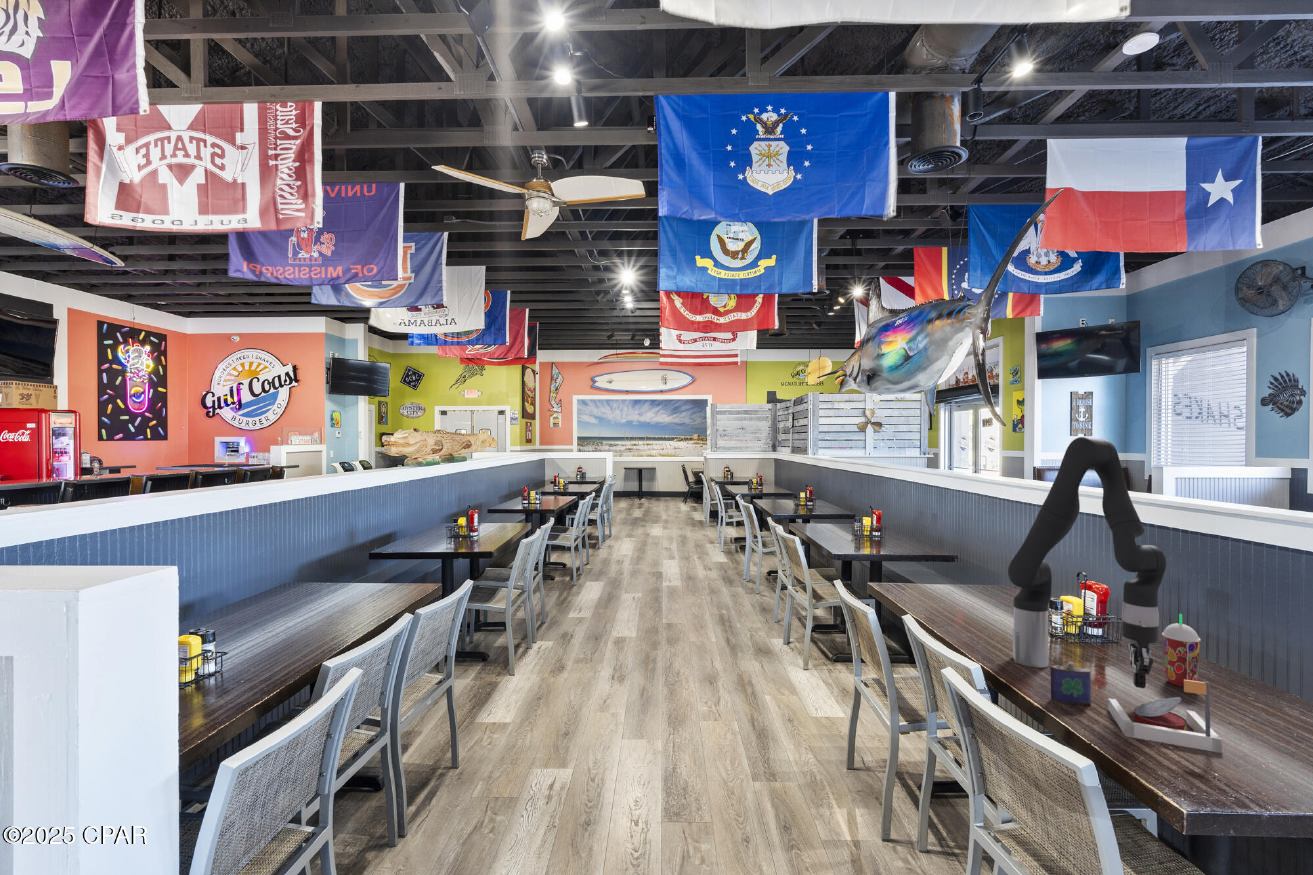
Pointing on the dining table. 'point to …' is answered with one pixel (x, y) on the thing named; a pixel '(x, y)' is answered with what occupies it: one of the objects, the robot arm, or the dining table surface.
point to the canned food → (1160, 714)
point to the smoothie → (1181, 653)
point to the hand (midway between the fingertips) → (1139, 686)
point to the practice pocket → (1197, 739)
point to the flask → (1070, 685)
